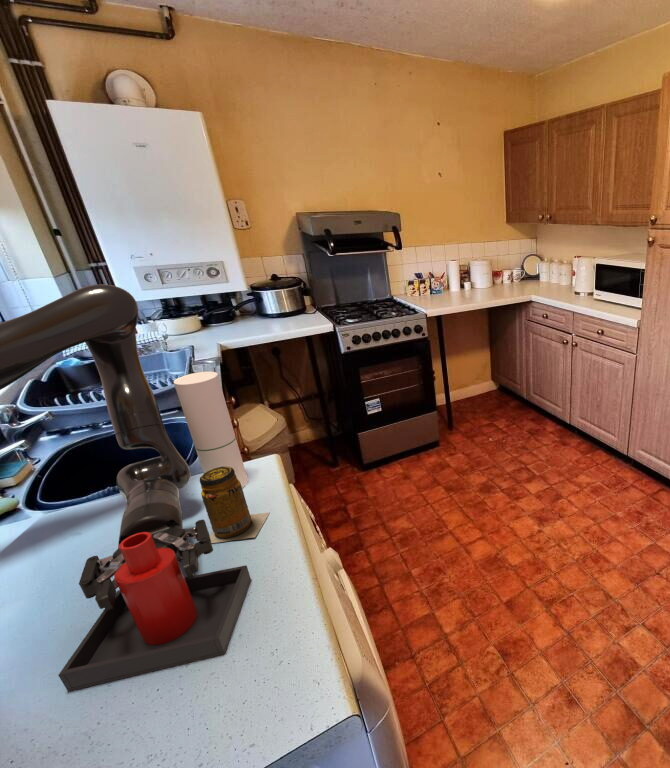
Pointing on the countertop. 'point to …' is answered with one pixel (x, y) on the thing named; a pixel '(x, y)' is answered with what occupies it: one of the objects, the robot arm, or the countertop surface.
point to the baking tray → (134, 657)
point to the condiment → (228, 506)
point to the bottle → (154, 590)
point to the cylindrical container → (210, 422)
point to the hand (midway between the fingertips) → (149, 588)
